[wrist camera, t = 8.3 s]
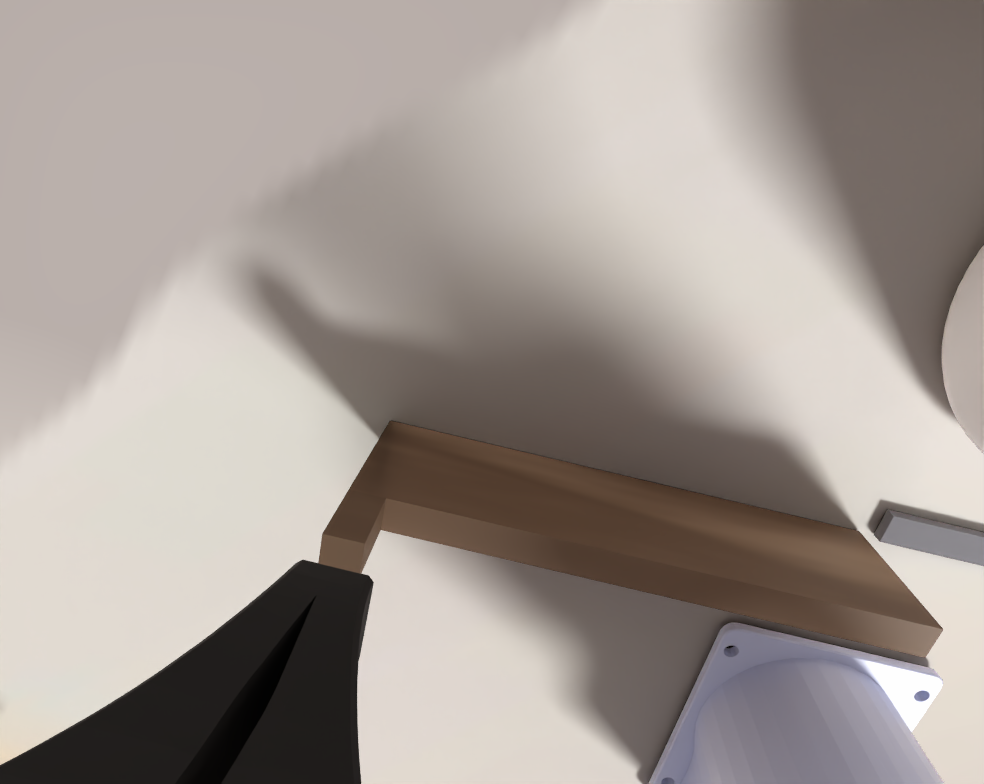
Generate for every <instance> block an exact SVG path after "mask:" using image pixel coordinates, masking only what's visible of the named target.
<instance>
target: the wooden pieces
mask: <svg viewBox="0 0 984 784" xmlns="http://www.w3.org/2000/svg"><path fill="white" fill-rule="evenodd" d="M380 530H384V531H388V532H392V533H396V534H401V535H405V536H409V537H413V538H418V539H422V540H426V541H430V542H435V543H439V544H443V545H448V546H452V547H456V548H460V549H465V550H469V551H473V552H477V553H482V554H486V555H490V556H494V557H499V558H503V559H507V560H511V561H516V562H520V563H524V564H528V565H533V566H537V567H541V568H545V569H550V570H554V571H558V572H562V573H567V574H571V575H575V576H579V577H584V578H588V579H592V580H596V581H601V582H605V583H609V584H613V585H618V586H622V587H626V588H630V589H635V590H639V591H643V592H647V593H652V594H656V595H660V596H664V597H669V598H673V599H677V600H681V601H686V602H690V603H694V604H698V605H703V606H707V607H711V608H715V609H720V610H724V611H728V612H732V613H737V614H741V615H745V616H749V617H754V618H758V619H762V620H766V621H771V622H775V623H779V624H783V625H788V626H792V627H796V628H800V629H805V630H809V631H813V632H817V633H822V634H826V635H830V636H834V637H839V638H843V639H847V640H851V641H856V642H860V643H864V644H868V645H873V646H877V647H881V648H886V649H890V650H894V651H898V652H903V653H907V654H911V655H915V656H920V657H924V658H925V657H926V656H927V654H928V653H929V651H930V649H931V648H932V646H933V645H934V643H935V642H936V640H937V639H938V637H939V636H940V634H941V632H942V631H943V628H942V627H941V626H940V625H939V624H938V623H937V621H936V620H935V619H934V618H933V617H932V616H931V614H930V613H929V612H928V611H927V610H926V609H925V607H924V606H923V605H922V604H921V603H920V602H919V600H918V599H917V598H916V597H915V596H914V595H913V593H912V592H911V591H910V590H909V589H908V588H907V586H906V585H905V584H904V583H903V582H902V581H901V579H900V578H899V577H898V576H897V575H896V574H895V572H894V571H893V570H892V569H891V568H890V567H889V565H888V564H887V563H886V562H885V561H884V560H883V558H882V557H881V556H880V555H879V554H878V553H877V551H876V550H875V549H874V548H873V547H872V546H871V544H870V543H869V542H868V541H867V540H866V539H865V538H864V536H863V535H862V534H861V533H860V532H859V531H856V530H852V529H848V528H844V527H840V526H835V525H831V524H827V523H823V522H818V521H814V520H810V519H806V518H801V517H797V516H793V515H789V514H784V513H780V512H776V511H772V510H767V509H763V508H759V507H755V506H750V505H746V504H742V503H738V502H734V501H729V500H725V499H721V498H717V497H712V496H708V495H704V494H700V493H695V492H691V491H687V490H683V489H678V488H674V487H670V486H666V485H661V484H657V483H653V482H649V481H645V480H640V479H636V478H632V477H628V476H623V475H619V474H615V473H611V472H606V471H602V470H598V469H594V468H589V467H585V466H581V465H577V464H572V463H568V462H564V461H560V460H555V459H551V458H547V457H543V456H539V455H534V454H530V453H526V452H522V451H517V450H513V449H509V448H505V447H500V446H496V445H492V444H488V443H483V442H479V441H475V440H471V439H466V438H462V437H458V436H454V435H449V434H445V433H441V432H437V431H433V430H428V429H424V428H420V427H416V426H411V425H407V424H403V423H399V422H394V421H390V422H389V423H388V425H387V427H386V428H385V430H384V432H383V433H382V435H381V437H380V438H379V440H378V442H377V443H376V445H375V447H374V448H373V450H372V452H371V453H370V455H369V457H368V458H367V460H366V462H365V463H364V465H363V467H362V469H361V470H360V472H359V474H358V475H357V477H356V479H355V480H354V482H353V484H352V485H351V487H350V489H349V490H348V492H347V494H346V495H345V497H344V499H343V500H342V502H341V504H340V505H339V507H338V509H337V510H336V512H335V514H334V515H333V517H332V519H331V520H330V522H329V524H328V525H327V527H326V529H325V530H324V532H323V534H322V541H321V549H320V556H319V563H318V564H323V565H327V566H331V567H335V568H339V569H343V570H348V571H352V572H356V573H360V574H361V573H362V570H363V568H364V566H365V564H366V561H367V559H368V557H369V555H370V552H371V550H372V548H373V546H374V543H375V541H376V539H377V537H378V534H379V532H380Z"/></svg>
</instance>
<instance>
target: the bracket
mask: <svg viewBox="0 0 984 784" xmlns="http://www.w3.org/2000/svg"><path fill="white" fill-rule="evenodd" d="M874 536H875V537H876V538H877V539H878V540H879V541H880V542H884V543H888V544H892V545H896V546H901V547H905V548H909V549H913V550H918V551H922V552H926V553H930V554H934V555H939V556H943V557H947V558H951V559H956V560H960V561H964V562H968V563H973V564H977V565H981V566H984V532H981V531H977V530H972V529H968V528H964V527H960V526H955V525H951V524H947V523H943V522H938V521H934V520H930V519H926V518H921V517H917V516H913V515H909V514H904V513H900V512H896V511H892V510H888V509H887V511H886V513H885V515H884V516H883V518H882V520H881V522H880V524H879V526H878V527H877V529H876V531H875V533H874Z"/></svg>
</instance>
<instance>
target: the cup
mask: <svg viewBox="0 0 984 784" xmlns="http://www.w3.org/2000/svg"><path fill="white" fill-rule="evenodd" d="M942 370H943V378H944V386H945V390H946V393H947V397H948V400H949V404H950V406H951V408H952V410H953V412H954V415H955V417H956V419H957V421H958V422H959V424H960V425H961V427H962V429H963V430H964V432H965V433H966V435H967V436H968V437H969V438H970V440H971V441H972V442H973V443H974V444H975V445H976V447H977V448H978V449H979V450H980V451H981V452H982V453H983V454H984V245H983V246H982V248H981V249H980V250H979V252H978V254H977V255H976V257H975V258H974V260H973V261H972V263H971V264H970V266H969V267H968V269H967V271H966V273H965V275H964V277H963V278H962V280H961V282H960V284H959V286H958V288H957V291H956V293H955V296H954V298H953V301H952V303H951V306H950V309H949V313H948V316H947V320H946V323H945V328H944V335H943V341H942Z"/></svg>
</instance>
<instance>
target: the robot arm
mask: <svg viewBox="0 0 984 784" xmlns="http://www.w3.org/2000/svg"><path fill="white" fill-rule="evenodd" d="M373 583H374V582H373V581H372V579H371V578H370V577H369V576H368V575H364V574H360V573H356V572H352V571H348V570H343V569H339V568H335V567H331V566H327V565H323V564H318V563H314V562H310V561H306V560H301V561H299V562H298V563H296V564H295V565H294V566H293V567H291V568H290V569H289V570H288V571H287V572H286V573H285V574H284V575H283V576H281V577H280V578H279V579H278V580H277V581H276V582H275V583H274V584H272V585H271V586H270V587H269V588H268V589H267V590H265V591H264V592H263V593H262V594H261V595H259V596H258V597H257V598H256V599H255V600H253V601H252V602H251V603H250V604H249V605H248V606H246V607H245V608H244V609H243V610H241V611H240V612H239V613H238V614H236V615H235V616H234V617H232V618H231V619H230V620H229V621H227V622H226V623H225V624H224V625H222V626H221V627H220V628H218V629H217V630H216V631H215V632H213V633H212V634H211V635H209V636H208V637H207V638H205V639H204V640H203V641H201V642H200V643H199V644H197V645H196V646H195V647H193V648H192V649H190V650H189V651H187V652H186V653H185V654H183V655H182V656H180V657H179V658H178V659H176V660H175V661H173V662H172V663H171V664H169V665H168V666H166V667H165V668H164V669H162V670H161V671H159V672H158V673H156V674H155V675H154V676H152V677H151V678H149V679H147V680H146V681H144V682H143V683H141V684H140V685H138V686H137V687H135V688H134V689H132V690H131V691H129V692H128V693H126V694H124V695H123V696H121V697H120V698H118V699H116V700H115V701H113V702H112V703H110V704H108V705H107V706H105V707H103V708H102V709H100V710H99V711H97V712H95V713H94V714H92V715H90V716H89V717H87V718H85V719H83V720H82V721H80V722H78V723H76V724H75V725H73V726H71V727H69V728H68V729H66V730H64V731H62V732H60V733H59V734H57V735H55V736H53V737H52V738H50V739H48V740H46V741H45V742H43V743H41V744H39V745H37V746H36V747H34V748H32V749H30V750H28V751H26V752H24V753H23V754H21V755H19V756H17V757H15V758H13V759H11V760H9V761H7V762H6V763H4V764H2V765H0V784H361V775H360V763H359V748H358V727H357V675H358V660H359V657H360V652H361V647H362V641H363V636H364V631H365V625H366V620H367V615H368V610H369V604H370V599H371V594H372V588H373ZM727 646H734V647H732V648H730V649H727V648H726V647H727ZM942 685H943V680H942V679H941V677H940V676H939V675H938V673H937V672H936V671H935V670H934V669H931V668H929V667H924V666H920V665H916V664H912V663H907V662H903V661H899V660H895V659H890V658H886V657H882V656H878V655H873V654H869V653H865V652H861V651H856V650H852V649H848V648H844V647H839V646H835V645H831V644H827V643H822V642H818V641H814V640H810V639H805V638H801V637H797V636H793V635H788V634H784V633H780V632H776V631H771V630H767V629H763V628H759V627H754V626H750V625H746V624H742V623H734V622H733V623H728V624H726V625H724V626H723V627H722V628H721V630H720V631H719V633H718V636H717V638H716V640H715V642H714V644H713V646H712V648H711V651H710V653H709V655H708V657H707V659H706V661H705V663H704V666H703V668H702V670H701V672H700V674H699V676H698V678H697V681H696V683H695V685H694V687H693V689H692V691H691V693H690V696H689V698H688V700H687V702H686V704H685V706H684V708H683V711H682V713H681V715H680V717H679V719H678V721H677V723H676V726H675V728H674V730H673V732H672V734H671V736H670V738H669V741H668V743H667V745H666V747H665V749H664V751H663V753H662V756H661V758H660V760H659V762H658V764H657V766H656V768H655V770H654V773H653V775H652V777H651V779H650V781H649V783H648V784H945V783H944V781H943V780H942V778H941V777H940V775H939V774H938V772H937V771H936V769H935V768H934V766H933V765H932V763H931V761H930V760H929V758H928V757H927V755H926V754H925V752H924V751H923V749H922V748H921V746H920V744H919V743H918V741H917V740H916V738H915V737H914V735H913V734H912V731H913V729H914V728H915V726H916V725H917V723H918V722H919V721H920V719H921V718H922V716H923V715H924V713H925V712H926V710H927V709H928V707H929V706H930V704H931V703H932V701H933V700H934V698H935V697H936V695H937V694H938V692H939V691H940V690H941V688H942ZM918 691H919V692H918Z"/></svg>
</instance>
